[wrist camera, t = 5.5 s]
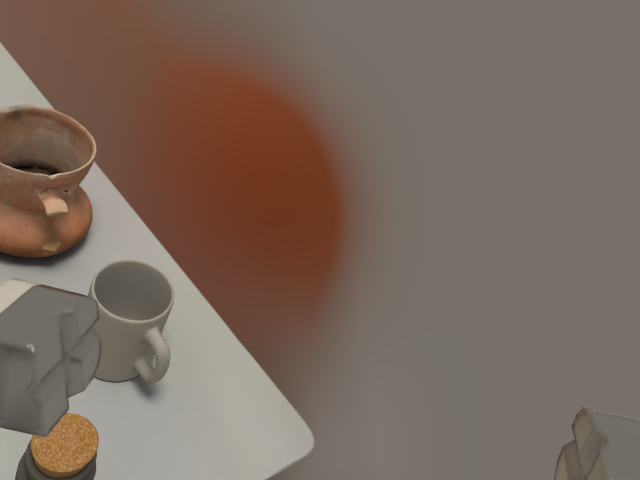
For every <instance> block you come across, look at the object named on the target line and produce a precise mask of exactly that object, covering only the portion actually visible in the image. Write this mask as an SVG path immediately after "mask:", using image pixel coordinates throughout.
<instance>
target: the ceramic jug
mask: <svg viewBox="0 0 640 480" xmlns="http://www.w3.org/2000/svg"><path fill="white" fill-rule="evenodd" d="M95 155H96V143H95V141H94V139H93V137H92V136H91V134H90V133H89V132H88V130H86V129H85V128H84V127H83V126H82V125H81V124H80V123H78V122H77V121H75V120H74V119H72V118H71V117H69V116H67V115H65V114H63V113H60V112H58V111H56V110H53V109H50V108H45V107H36V106H33V105H15V106H11V107H6V108H1V109H0V252H3V253H6V254H9V255H14V256H20V257H46V256H51V255H56V254H58V253H61V252H64V251H66V250H67V249H69V248H71V247H73V246H74V245H75V244H77V243H78V242H79V241H80V240H81V239H82V238H83V237H84V236H85V234H86V233H87V231H88V230H89V228H90V225H91V222H92V207H91V203H90V200H89V198H88V196H87V195H86V193H85V192H84V190H83V189H82V188H81V187H80V186H79V184H80V183H81V182H82V180H83V179H84V178H85V176H86V175H87V173H88V172H89V170H90V168H91V166H92V164H93V162H94V159H95Z"/></svg>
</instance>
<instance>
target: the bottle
mask: <svg viewBox="0 0 640 480" xmlns="http://www.w3.org/2000/svg"><path fill="white" fill-rule="evenodd" d="M98 443H99V439H98V434H97V431H96V429H95V427H94V425H93V424H92V423H91V422H90V421H89V420H88V419H86V418H84V417H82V416H80V415H77V414H72V413H66V414H65V415H64V416H63V417H62V419H61V420H60V421H59V422H58V423H57V425H56V426H55V427H54V428H53V430H52V431H51V432H50V433H49V435H48V436H47V437H46V438H45V437H41V436H36V435H33V436H32V439H31V441H30V442H29V444H28V447H27V449H26V452H25V453H24V454H23V456H22V458H21V460H20V462H19V465H18V468H17V473H16V477H15V480H94V477H95V472H96V457H97V448H98Z"/></svg>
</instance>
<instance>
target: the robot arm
mask: <svg viewBox="0 0 640 480" xmlns="http://www.w3.org/2000/svg"><path fill="white" fill-rule="evenodd" d="M99 318H100V316H99V307H98V302H97V301H96V300H95V299H94V298H93V297H90V296H86V295H82V294H78V293H74V292H70V291H66V290H62V289H58V288H54V287H50V286H46V285H42V284H41V285H39V284H36V283H32V282H28V281H24V280H20V279H8V280H5V281H4V282H3V283H1V284H0V427H1V428H5V429H10V430H14V431H19V432H23V433H28V434H32V435H36V436H41V437H45V438H46V437H47V436H48V435H49V433H50V432H51V431H52V430H53V428H54V427H55V426H56V425H57V423H58V422H59V421H60V420H61V419H62V417H63V416H64V415H65V414H66V412H67V411H68V410H69V402H68V398H69V397H71V396H73V395H76V394H78V393H80V392H82V391H84V390H85V389H86V387H87V386H88V385H89V383H90V382H91V381H92V380H93V378H94V375H95V373H96V371H97V368H98V366H99V364H100V358H101V351H102V347H101V338H100V337H99V335H98V334H97V332H96V331H95V330H94V328H93V327H92V326H93V325H94V324H95V323H96V322H97V320H98V319H99ZM572 428H573V433H574V437H575V440H573V441H571V442H569V443H567V444H566V445H564V446H563V447H562V450H561V452H560V455H559V457H558V460H557V464H556V470H555V476H554V480H640V420H639V419H634V418H630V417H625V416H620V415H616V414H611V413H607V412H603V411H598V410H593V409H589V408H584V407H583V408H582V409H581V410H580V411H579V412H578V414H577V415H576V418H575V420H574V422H573V424H572Z"/></svg>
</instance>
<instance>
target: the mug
mask: <svg viewBox="0 0 640 480" xmlns="http://www.w3.org/2000/svg"><path fill="white" fill-rule="evenodd" d="M88 296H90V297H93V298H94V299H95V300H96V301H97V302H98V307H99V316H100V318H99V319H98V320H97V322H96V323H95V324H94V325H93V326H92V327H93V328H94V330H95V331H96V332H97V334H98V335H99V337H100V338H101V347H102V351H101V358H100V364H99V366H98V368H97V371H96V373H95V375H94V377H96V378H99V379H102V380H105V381H113V382H119V381H126V380H129V379H132V378H134V377H136V376H138V375H139V374H140V376H141V377H142V378H143V379H144V380H145V381H146V382H148V383H155V382H158V381H159V380H161V379H162V378H163V376H164V375H165V374H166V372H167V369H168V367H169V362H170V350H169V347H168V345H167V343H166V341H165V339H164V338H163V336H162V335H161V333H162V331H163V328H164V326H165V323H166V321H167V318H168V316H169V313H170V311H171V308H172V305H173V301H174V291H173V287H172V285H171V283H170V281H169V280H168V278H167V277H166V276H165V275H164V274H163V273H162V272H161V271H160V270H158V269H157V268H155V267H153V266H151V265H149V264H146V263H144V262H140V261H134V260H122V261H116V262H113V263H110V264H108V265H106V266H104V267H103V268H101V269H100V270H99V271H98V272H97V273H96V275H95V276H94V278H93V280H92V283H91V286H90V290H89V294H88ZM154 352H155V355H156V367H155V370H154V368H153V367H152V366H151V364H150V362H151V360H152V357H153V354H154Z"/></svg>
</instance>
